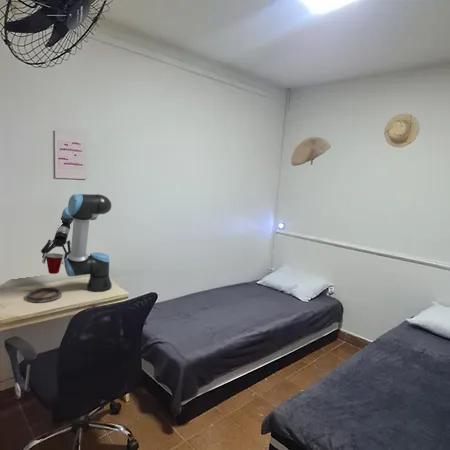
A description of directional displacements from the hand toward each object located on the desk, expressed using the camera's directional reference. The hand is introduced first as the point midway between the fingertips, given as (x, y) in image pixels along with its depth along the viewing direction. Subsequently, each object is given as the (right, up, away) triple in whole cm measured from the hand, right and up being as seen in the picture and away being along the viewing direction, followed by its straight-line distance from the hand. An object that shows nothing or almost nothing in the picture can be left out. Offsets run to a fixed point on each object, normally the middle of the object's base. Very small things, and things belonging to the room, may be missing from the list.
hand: (52, 262), depth 210 cm
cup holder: (+2, -19, -13) cm, 23 cm away
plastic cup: (-1, -7, +4) cm, 8 cm away
